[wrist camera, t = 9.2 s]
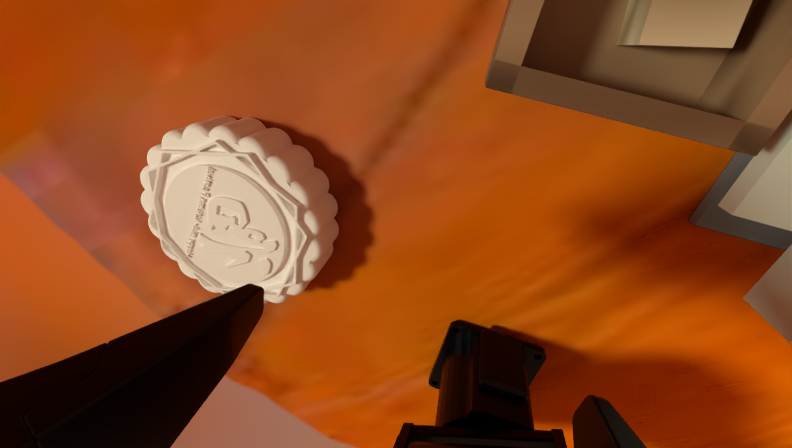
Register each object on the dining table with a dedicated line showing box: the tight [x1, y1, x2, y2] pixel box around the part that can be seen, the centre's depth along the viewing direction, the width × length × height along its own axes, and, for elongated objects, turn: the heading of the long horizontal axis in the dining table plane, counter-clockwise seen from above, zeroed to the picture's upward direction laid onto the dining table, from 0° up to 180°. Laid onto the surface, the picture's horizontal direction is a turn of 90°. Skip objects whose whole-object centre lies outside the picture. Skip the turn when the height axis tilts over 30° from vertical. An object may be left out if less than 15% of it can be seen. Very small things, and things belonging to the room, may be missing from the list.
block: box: [616, 0, 753, 48], centre depth 13 cm, size 3×3×2 cm
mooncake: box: [140, 116, 339, 304], centre depth 22 cm, size 12×12×4 cm
